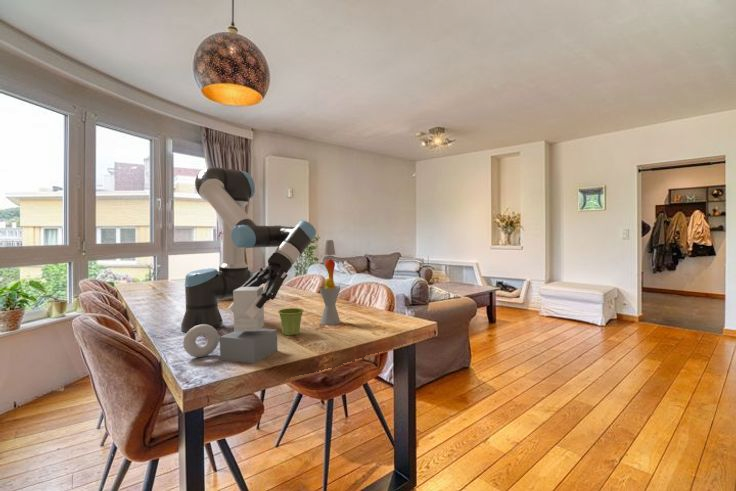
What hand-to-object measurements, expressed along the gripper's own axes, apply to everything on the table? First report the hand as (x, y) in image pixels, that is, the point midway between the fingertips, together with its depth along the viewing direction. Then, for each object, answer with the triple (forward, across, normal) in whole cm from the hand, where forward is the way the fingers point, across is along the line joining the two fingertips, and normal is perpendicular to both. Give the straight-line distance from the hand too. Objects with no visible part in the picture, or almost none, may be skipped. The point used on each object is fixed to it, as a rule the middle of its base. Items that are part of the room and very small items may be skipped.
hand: (240, 313), depth 107 cm
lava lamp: (-23, +12, -43) cm, 50 cm away
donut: (+15, +9, -4) cm, 18 cm away
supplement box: (+2, 0, -6) cm, 6 cm away
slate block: (+8, 0, -12) cm, 14 cm away
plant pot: (-8, +10, -28) cm, 31 cm away
